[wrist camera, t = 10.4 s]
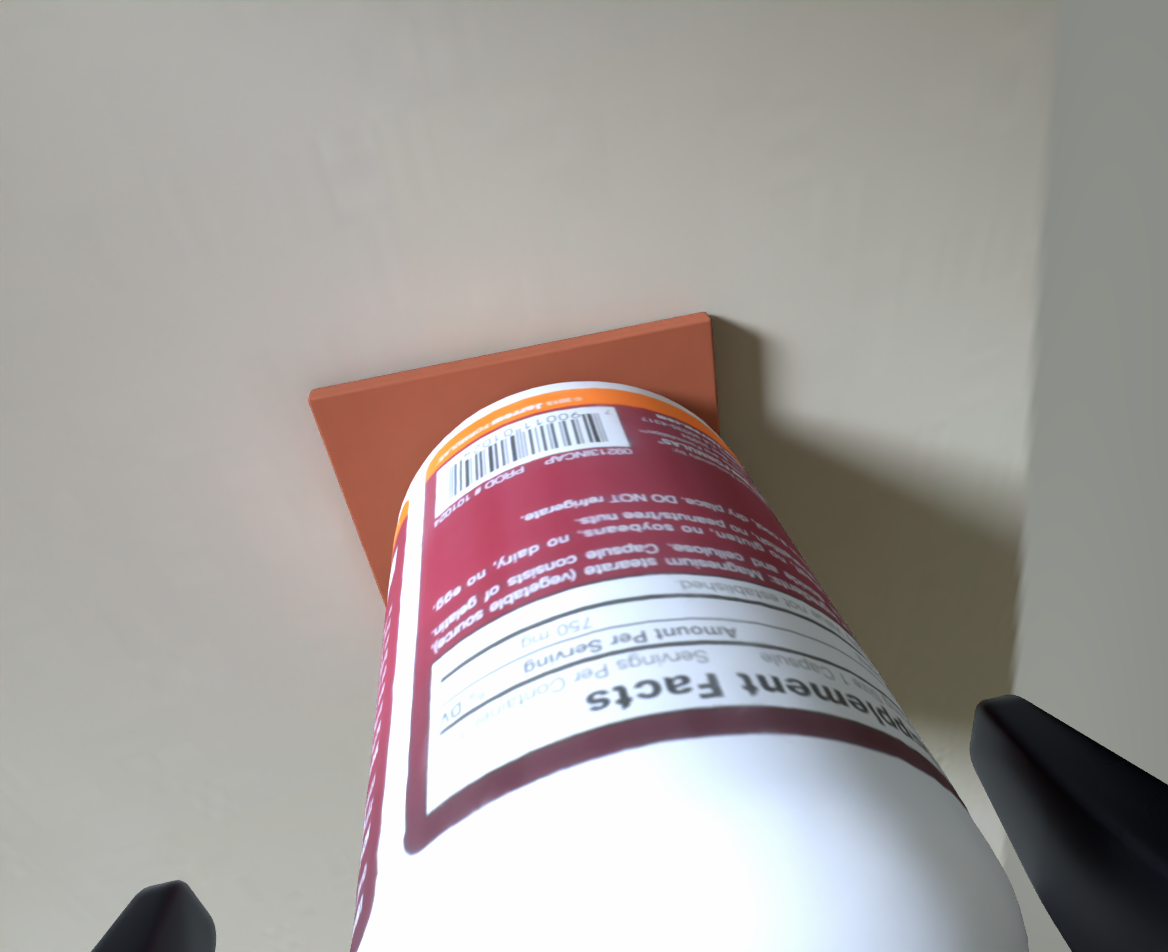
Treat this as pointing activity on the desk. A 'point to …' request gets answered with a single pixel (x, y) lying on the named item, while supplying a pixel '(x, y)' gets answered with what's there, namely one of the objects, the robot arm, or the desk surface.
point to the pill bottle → (640, 715)
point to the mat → (461, 388)
